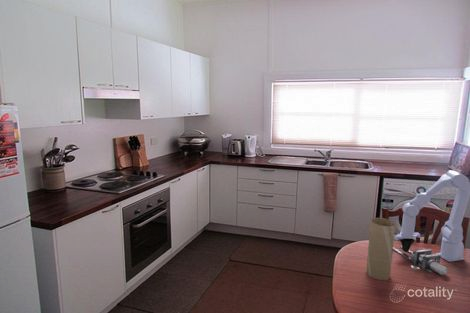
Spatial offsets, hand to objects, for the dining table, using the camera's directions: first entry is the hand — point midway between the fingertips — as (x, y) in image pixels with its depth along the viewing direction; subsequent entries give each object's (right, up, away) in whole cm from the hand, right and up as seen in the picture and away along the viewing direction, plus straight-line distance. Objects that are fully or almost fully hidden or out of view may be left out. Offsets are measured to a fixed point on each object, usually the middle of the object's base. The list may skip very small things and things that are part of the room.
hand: (405, 251), depth 164 cm
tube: (-23, -5, -19) cm, 30 cm away
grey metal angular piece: (0, -2, -6) cm, 7 cm away
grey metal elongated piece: (+4, -4, -13) cm, 14 cm away
